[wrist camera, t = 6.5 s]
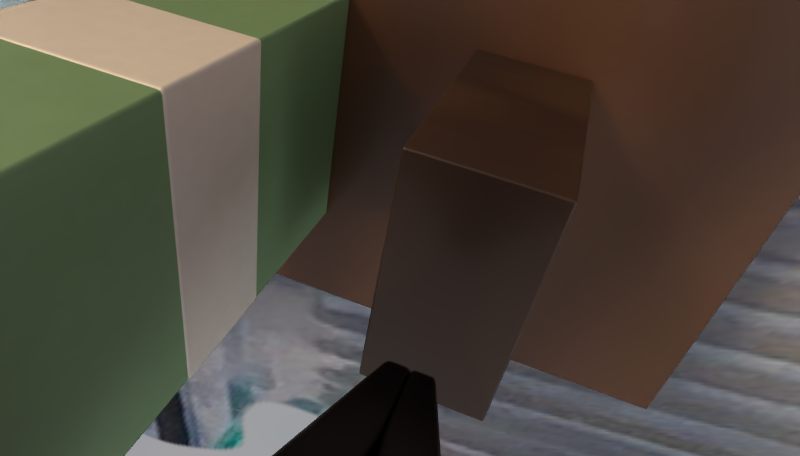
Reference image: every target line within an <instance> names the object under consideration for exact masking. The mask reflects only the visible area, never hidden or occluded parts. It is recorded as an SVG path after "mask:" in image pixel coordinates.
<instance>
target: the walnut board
mask: <svg viewBox="0 0 800 456" xmlns="http://www.w3.org/2000/svg"><path fill="white" fill-rule="evenodd" d="M799 194H800V0H349V7H348V16H347V25H346V35H345V44H344V53H343V62H342V71H341V81H340V90H339V99H338V108H337V118H336V127H335V136H334V145H333V154H332V164H331V173H330V182H329V191H328V201H327V210H326V213H325V214H324V216H323V217H322V218H321V219H320V220H319V222H318V223H317V224H316V225H315V226H314V228H313V229H312V230H311V231H310V233H309V234H308V235H307V236H306V237H305V239H304V240H303V241H302V242H301V243H300V245H299V246H298V247H297V248H296V249H295V251H294V252H293V253H292V254H291V255H290V257H289V258H288V259H287V260H286V261H285V263H284V264H283V265H282V266H281V267H280V269H279V270H278V271H277V272H276V273H277V274H279V275H282V276H285V277H288V278H290V279H293V280H296V281H299V282H301V283H304V284H307V285H309V286H312V287H315V288H318V289H320V290H323V291H326V292H328V293H331V294H334V295H337V296H339V297H342V298H345V299H348V300H350V301H353V302H356V303H358V304H361V305H364V306H367V307H369V308H372V309H371V314H370V319H369V324H368V329H367V335H366V340H365V345H364V350H363V355H362V361H361V366H360V374H362V375H365V376H368V375H370V374H371V373H372V372H373V371H374V370H376V369H377V368H378V367H379V366H380V365H382V364H383V363H384V362H386V361H392V362H395V363H397V364H400V365H403V366H405V367H407V368H409V370H410V372H411V371H414V370H415V371H418V372H421V373H424V374H426V375H429V376H432V377H433V378H434V379H435V381H436V393H437V404H439V405H442V406H444V407H447V408H449V409H452V410H455V411H457V412H460V413H462V414H465V415H467V416H470V417H473V418H475V419H478V420H480V421H483V420H484V418H485V416H486V414H487V411H488V409H489V407H490V404H491V402H492V400H493V398H494V395H495V393H496V391H497V388H498V386H499V384H500V381H501V379H502V377H503V374H504V372H505V370H506V368H507V365H508V363H509V361H510V359H511V360H514V361H517V362H519V363H522V364H525V365H527V366H530V367H533V368H536V369H538V370H541V371H544V372H547V373H549V374H552V375H555V376H557V377H560V378H563V379H566V380H568V381H571V382H574V383H576V384H579V385H582V386H585V387H587V388H590V389H593V390H596V391H598V392H601V393H604V394H606V395H609V396H612V397H615V398H617V399H620V400H623V401H626V402H628V403H631V404H634V405H636V406H639V407H642V408H645V409H647V408H648V406H649V405H650V403H651V402H652V401H653V399H654V398H655V396H656V395H657V394H658V392H659V391H660V389H661V388H662V387H663V385H664V384H665V382H666V381H667V379H668V378H669V377H670V375H671V374H672V372H673V371H674V370H675V368H676V367H677V365H678V364H679V363H680V361H681V360H682V358H683V357H684V356H685V354H686V353H687V351H688V350H689V349H690V347H691V346H692V344H693V343H694V342H695V340H696V339H697V337H698V336H699V335H700V333H701V332H702V330H703V329H704V328H705V326H706V325H707V323H708V322H709V321H710V319H711V318H712V316H713V315H714V313H715V312H716V311H717V309H718V308H719V306H720V305H721V304H722V302H723V301H724V299H725V298H726V297H727V295H728V294H729V292H730V291H731V290H732V288H733V287H734V285H735V284H736V283H737V281H738V280H739V278H740V277H741V276H742V274H743V273H744V271H745V270H746V269H747V267H748V266H749V264H750V263H751V262H752V260H753V259H754V257H755V256H756V255H757V253H758V252H759V250H760V249H761V247H762V246H763V245H764V243H765V242H766V240H767V239H768V238H769V236H770V235H771V233H772V232H773V231H774V229H775V228H776V226H777V225H778V224H779V222H780V221H781V219H782V218H783V217H784V215H785V214H786V212H787V211H788V210H789V208H790V207H791V205H792V204H793V203H794V201H795V200H796V198H797V197H798V196H799Z"/></svg>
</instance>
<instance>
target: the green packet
mask: <svg viewBox="0 0 800 456" xmlns="http://www.w3.org/2000/svg"><path fill="white" fill-rule="evenodd" d="M348 7H349V0H35V1H31V2H27V3H23V4H19V5H15V6H11V7H7V8H3V9H0V456H125V454H126V453H127V452H128V451H129V450H130V448H131V447H132V446H133V445H134V443H135V442H136V441H137V440H138V439H139V438H140V436H141V435H142V434H143V433H144V432H145V430H146V429H147V428H148V427H149V426H150V424H151V423H152V422H153V421H154V419H155V418H156V417H157V416H158V415H159V413H160V412H161V411H162V410H163V409H164V407H165V406H166V405H167V404H168V403H169V401H170V400H171V399H172V398H173V397H174V395H175V394H176V393H177V392H178V391H179V389H180V388H181V387H182V386H183V385H184V383H185V382H186V381H187V380H189V379H190V378H191V377H192V376H193V375H194V374H195V372H196V371H197V370H198V369H199V367H200V366H201V365H202V364H203V363H204V361H205V360H206V359H207V358H208V357H209V355H210V354H211V353H212V352H213V351H214V349H215V348H216V347H217V346H218V344H219V343H220V342H221V341H222V340H223V338H224V337H225V336H226V335H227V334H228V332H229V331H230V330H231V329H232V327H233V326H234V325H235V324H236V323H237V321H238V320H239V319H240V318H241V317H242V315H243V314H244V313H245V312H246V311H247V309H248V308H249V307H250V306H251V304H252V303H253V302H254V301H255V299H256V296H257V295H258V294H259V293H260V292H261V290H262V289H263V288H264V287H265V286H266V284H267V283H268V282H269V281H270V280H271V278H272V277H273V276H274V275H275V274H276V272H277V271H278V270H279V269H280V267H281V266H282V265H283V264H284V263H285V261H286V260H287V259H288V258H289V257H290V255H291V254H292V253H293V252H294V251H295V249H296V248H297V247H298V246H299V245H300V243H301V242H302V241H303V240H304V239H305V237H306V236H307V235H308V234H309V233H310V231H311V230H312V229H313V228H314V226H315V225H316V224H317V223H318V222H319V220H320V219H321V218H322V217H323V216H324V214H325V213H326V210H327V201H328V191H329V182H330V173H331V164H332V154H333V145H334V136H335V127H336V118H337V108H338V99H339V90H340V81H341V71H342V62H343V53H344V44H345V35H346V25H347V16H348Z"/></svg>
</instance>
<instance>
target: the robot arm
mask: <svg viewBox="0 0 800 456" xmlns="http://www.w3.org/2000/svg"><path fill="white" fill-rule="evenodd" d="M272 456H441V455H440V440H439V424H438V409H437V393H436V381H435V379H434V378H433V377H432V376H429V375H426V374H424V373H421V372H418V371H415V370H414V371H411V372H410V370H409V368H407V367H405V366H403V365H400V364H397V363H395V362H392V361H386V362H384V363H383V364H382V365H380V366H379V367H378V368H377V369H376V370H374V371H373V372H372V373H371V374H370V375H368V376H367V377H366V378H365V379H364V380H362V381H361V382H360V383H359V384H358V385H356V386H355V387H354V388H353V389H352V390H350V391H349V392H348V393H347V394H346V395H344V396H343V397H342V398H341V399H340V400H338V401H337V402H336V403H335V404H334V405H332V406H331V407H330V408H329V409H328V410H326V411H325V412H324V413H323V414H322V415H320V416H319V417H318V418H317V419H316V420H314V421H313V422H312V423H311V424H310V425H308V426H307V427H306V428H305V429H304V430H302V431H301V432H300V433H299V434H298V435H296V436H295V437H294V438H293V439H292V440H290V441H289V442H288V443H287V444H286V445H284V446H283V447H282V448H281V449H280V450H278V451H277V452H276V453H275V454H274V455H272Z"/></svg>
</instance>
